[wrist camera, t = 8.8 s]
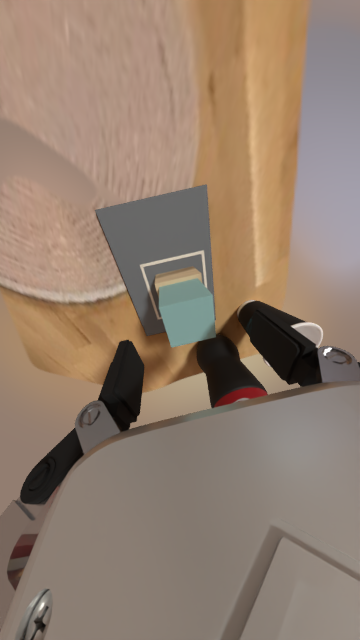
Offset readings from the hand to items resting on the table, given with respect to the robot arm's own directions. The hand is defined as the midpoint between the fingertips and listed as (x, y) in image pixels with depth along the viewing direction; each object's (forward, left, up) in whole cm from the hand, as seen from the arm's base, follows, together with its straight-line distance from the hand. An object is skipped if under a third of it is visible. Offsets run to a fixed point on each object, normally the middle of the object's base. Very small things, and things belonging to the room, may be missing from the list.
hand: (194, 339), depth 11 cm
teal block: (+1, 0, -9) cm, 9 cm away
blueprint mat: (-1, -1, -15) cm, 15 cm away
